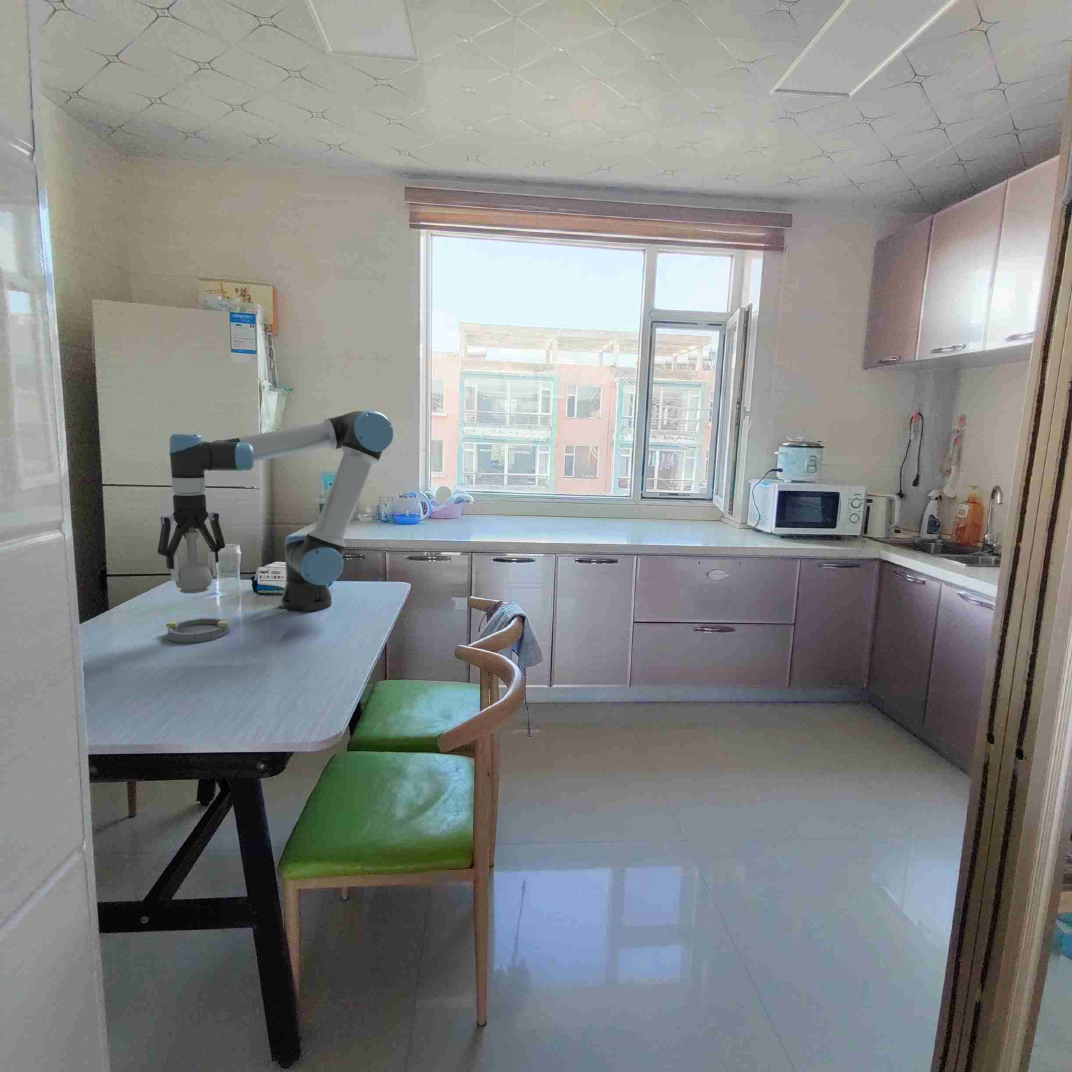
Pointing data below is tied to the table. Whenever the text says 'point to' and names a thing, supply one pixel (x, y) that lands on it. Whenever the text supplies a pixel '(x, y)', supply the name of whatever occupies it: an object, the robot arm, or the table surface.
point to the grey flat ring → (197, 630)
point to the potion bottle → (193, 568)
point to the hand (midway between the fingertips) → (194, 577)
